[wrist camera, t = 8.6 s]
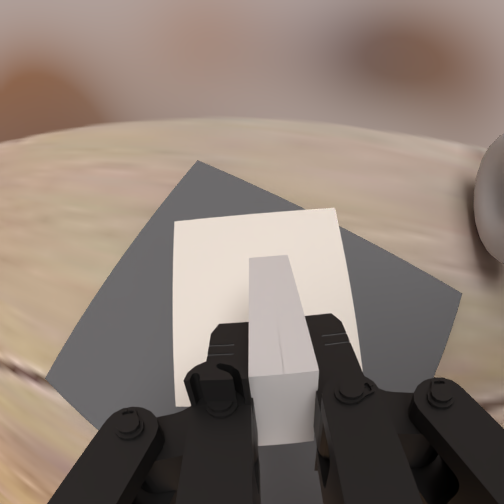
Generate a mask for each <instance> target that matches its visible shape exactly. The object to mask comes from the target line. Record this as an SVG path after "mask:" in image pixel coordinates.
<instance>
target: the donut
mask: <svg viewBox="0 0 504 504" xmlns="http://www.w3.org/2000/svg"><path fill="white" fill-rule="evenodd" d="M474 215H475V223H476V226H477V230H478V233H479V237H480V239H481V241H482V243H483V245H484V246H485V248H486V250H487V251H488V252H489V254H490V255H492V256H493V257H494V258H495V259H497V260H498V261H499V262H500V263H503V264H504V134H502V135H500V136H499V137H498V138H497V139H496V140H495V141H494V142H493V143H492V144H491V145H490V146H489V148H488V150H487V151H486V153H485V155H484V157H483V158H482V161H481V164H480V167H479V170H478V173H477V177H476V183H475V188H474Z"/></svg>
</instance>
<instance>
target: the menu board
mask: <svg viewBox="0 0 504 504" xmlns="http://www.w3.org/2000/svg"><path fill="white" fill-rule="evenodd" d="M279 255H288V258H289V261H290V265H291V268H292V272H293V275H294V279H295V283H296V286H297V290H298V293H299V297H300V301H301V304H302V308H303V312H304V315H305V316H309V315H319V314H328V313H332V314H333V315H334V316H335V317H337V318H338V319H339V320H340V321H342V324H343V326H344V328H345V331H346V334H347V335H348V338H349V340H350V343H351V345H352V347H353V350H354V352H355V355H356V357H357V359H358V362H359V364H360V367H361V369H362V362H361V353H360V346H359V338H358V331H357V324H356V318H355V311H354V305H353V299H352V293H351V287H350V281H349V275H348V270H347V264H346V259H345V254H344V249H343V244H342V239H341V234H340V229H339V224H338V220H337V215H336V211H335V208H325V209H310V210H296V211H283V212H270V213H258V214H246V215H235V216H224V217H214V218H203V219H193V220H184V221H174V247H173V359H174V384H175V403H176V407H190V406H191V403H190V400H189V397H188V394H187V391H186V387H185V384H184V381H183V380H184V379H185V377H186V375H187V373H188V372H189V371H190V370H191V369H192V368H194V367H195V366H196V365H199V364H201V363H203V362H206V360H207V356H208V348H209V342H210V336H211V333H212V332H213V331H214V329H215V328H216V327H217V326H218V324H223V323H239V322H249V258H254V257H267V256H279ZM362 372H363V370H362Z"/></svg>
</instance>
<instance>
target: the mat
mask: <svg viewBox="0 0 504 504" xmlns="http://www.w3.org/2000/svg"><path fill="white" fill-rule="evenodd" d="M296 210H306V209H304V208H302V207H299V206H297V205H295V204H293V203H291V202H289V201H287V200H285V199H283V198H281V197H279V196H276V195H274V194H272V193H270V192H268V191H266V190H263V189H261V188H259V187H257V186H255V185H253V184H250V183H248V182H246V181H244V180H242V179H239V178H237V177H235V176H233V175H230V174H228V173H226V172H224V171H221V170H219V169H217V168H214V167H212V166H210V165H207V164H205V163H203V162H200V161H198V160H197V162H196V163H195V164H194V165H193V166H192V168H191V169H190V170H189V171H188V172H187V174H186V175H185V176H184V177H183V178H182V180H181V181H180V182H179V183H178V184H177V186H176V187H175V188H174V189H173V191H172V192H171V193H170V194H169V196H168V197H167V198H166V199H165V201H164V202H163V203H162V204H161V206H160V207H159V208H158V210H157V211H156V212H155V213H154V215H153V216H152V217H151V219H150V220H149V221H148V222H147V224H146V225H145V226H144V228H143V229H142V230H141V232H140V233H139V234H138V236H137V237H136V238H135V240H134V241H133V243H132V244H131V245H130V247H129V248H128V249H127V251H126V252H125V254H124V255H123V256H122V258H121V259H120V261H119V262H118V263H117V265H116V266H115V268H114V269H113V271H112V272H111V273H110V275H109V276H108V278H107V279H106V281H105V282H104V284H103V285H102V287H101V288H100V290H99V291H98V293H97V294H96V296H95V297H94V299H93V300H92V302H91V303H90V305H89V306H88V308H87V309H86V311H85V312H84V314H83V316H82V317H81V319H80V320H79V322H78V324H77V325H76V327H75V328H74V330H73V332H72V333H71V335H70V336H69V338H68V340H67V341H66V343H65V345H64V346H63V348H62V350H61V352H60V353H59V355H58V357H57V358H56V360H55V362H54V364H53V365H52V367H51V369H50V371H49V372H48V374H47V376H46V378H45V379H46V380H47V381H48V382H49V383H50V384H51V385H52V386H53V387H54V388H55V389H56V390H57V391H58V392H59V394H60V395H61V396H62V397H63V398H64V399H65V400H66V401H67V402H68V403H69V404H71V405H72V406H73V407H74V408H75V409H76V410H77V411H78V412H79V413H80V414H81V415H82V416H83V417H84V418H85V419H86V420H88V421H89V422H90V423H91V424H92V425H93V426H94V427H95V428H97V429H98V430H100V428H101V427H102V425H103V424H104V423H105V421H106V420H107V419H108V418H109V417H110V416H111V415H112V414H113V413H115V412H117V411H119V410H121V409H123V408H128V407H143V408H145V409H147V410H149V411H151V412H152V413H153V414H154V415H155V417H160V416H165V415H170V414H174V413H177V412H180V411H183V410H185V409H187V408H188V407H176V403H175V384H174V359H173V247H174V221H184V220H193V219H203V218H214V217H224V216H235V215H246V214H258V213H270V212H283V211H296ZM339 229H340V234H341V239H342V244H343V249H344V254H345V259H346V264H347V270H348V275H349V281H350V287H351V293H352V299H353V305H354V311H355V318H356V324H357V331H358V338H359V346H360V353H361V362H362V370H363V374H364V376H365V377H367V378H369V379H370V380H372V381H374V383H375V384H376V385H377V387H378V388H379V389H382V390H385V391H391V392H406V393H414V391H415V389H416V387H417V385H419V384H420V383H421V382H423V381H424V380H427V379H430V378H433V377H434V375H435V372H436V370H437V367H438V365H439V362H440V359H441V357H442V354H443V351H444V349H445V346H446V343H447V340H448V337H449V335H450V332H451V329H452V326H453V323H454V319H455V316H456V313H457V310H458V306H459V303H460V299H461V296H462V293H460V292H459V291H457V290H455V289H453V288H452V287H450V286H448V285H447V284H445V283H443V282H442V281H440V280H438V279H436V278H435V277H433V276H431V275H429V274H428V273H426V272H424V271H422V270H420V269H419V268H417V267H415V266H413V265H412V264H410V263H408V262H406V261H404V260H402V259H401V258H399V257H397V256H395V255H393V254H391V253H390V252H388V251H386V250H384V249H382V248H380V247H378V246H377V245H375V244H373V243H371V242H369V241H367V240H365V239H363V238H361V237H359V236H357V235H356V234H354V233H352V232H350V231H348V230H346V229H344V228H342V227H340V226H339ZM316 451H317V444H316V438H315V434H314V441H308V442H300V443H290V444H279V445H266V446H258V455H259V462H260V490H261V504H323V499H322V493H321V486H320V480H319V474H318V471H314V468H315V459H316Z"/></svg>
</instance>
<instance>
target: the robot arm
mask: <svg viewBox="0 0 504 504" xmlns="http://www.w3.org/2000/svg"><path fill="white" fill-rule="evenodd" d="M183 381H184V384H185V387H186V391H187V394H188V397H189V400H190V403H191V406H190V407H188V408H187V409H185V410H183V411H180V412H177V413H174V414H170V415H165V416H160V417H155V415H154V414H153V413H152V412H151V411H149V410H147V409H145V408H143V407H128V408H123V409H121V410H119V411H117V412H115V413H113V414H112V415H111V416H110V417H109V418H108V419H107V420H106V421H105V423H104V424H103V425H102V427H101V428H100V430H99V431H98V432H97V434H96V435H95V437H94V438H93V439H92V441H91V442H90V444H89V445H88V446H87V448H86V449H85V451H84V452H83V453H82V455H81V456H80V458H79V459H78V460H77V462H76V463H75V465H74V466H73V468H72V469H71V470H70V472H69V473H68V475H67V476H66V478H65V479H64V480H63V482H62V483H61V485H60V486H59V488H58V489H57V490H56V492H55V493H54V495H53V496H52V498H51V499H50V501H49V502H48V503H47V504H261V490H260V462H259V455H258V446H266V445H279V444H290V443H300V442H308V441H314V434H315V438H316V444H317V451H316V459H315V468H314V471H318V474H319V480H320V486H321V493H322V499H323V504H504V429H503V428H502V427H501V426H500V425H499V424H498V423H497V422H496V421H495V420H494V419H493V418H492V417H491V416H490V415H489V414H488V413H487V412H486V411H485V410H484V409H483V408H482V407H481V406H480V405H479V404H478V403H477V402H476V401H475V400H474V399H473V398H472V397H471V396H470V395H469V394H468V393H467V392H466V391H465V390H464V389H463V388H462V387H461V386H459V385H458V384H456V383H455V382H453V381H452V380H448V379H445V378H430V379H427V380H424V381H423V382H421V383H420V384H419V385H417V387H416V389H415V391H414V393H406V392H391V391H385V390H382V389H379V388H378V387H377V385H376V384H375V383H374V381H372V380H370V379H369V378H367V377H365V376H364V374H363V372H362V369H361V367H360V364H359V362H358V359H357V357H356V355H355V352H354V350H353V347H352V345H351V343H350V340H349V338H348V335H347V334H346V331H345V328H344V326H343V324H342V321H340V320H339V319H338V318H337V317H335V316H334V315H333V314H332V313H328V314H319V315H309V316H305V315H304V312H303V308H302V304H301V301H300V297H299V293H298V290H297V286H296V283H295V279H294V275H293V272H292V268H291V265H290V261H289V258H288V255H279V256H267V257H254V258H249V322H239V323H223V324H218V326H217V327H216V328H215V329H214V331H213V332H212V333H211V336H210V342H209V348H208V356H207V360H206V362H203V363H201V364H199V365H196V366H195V367H194V368H192V369H191V370H190V371H189V372H188V373H187V375H186V377H185V379H184V380H183Z"/></svg>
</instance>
